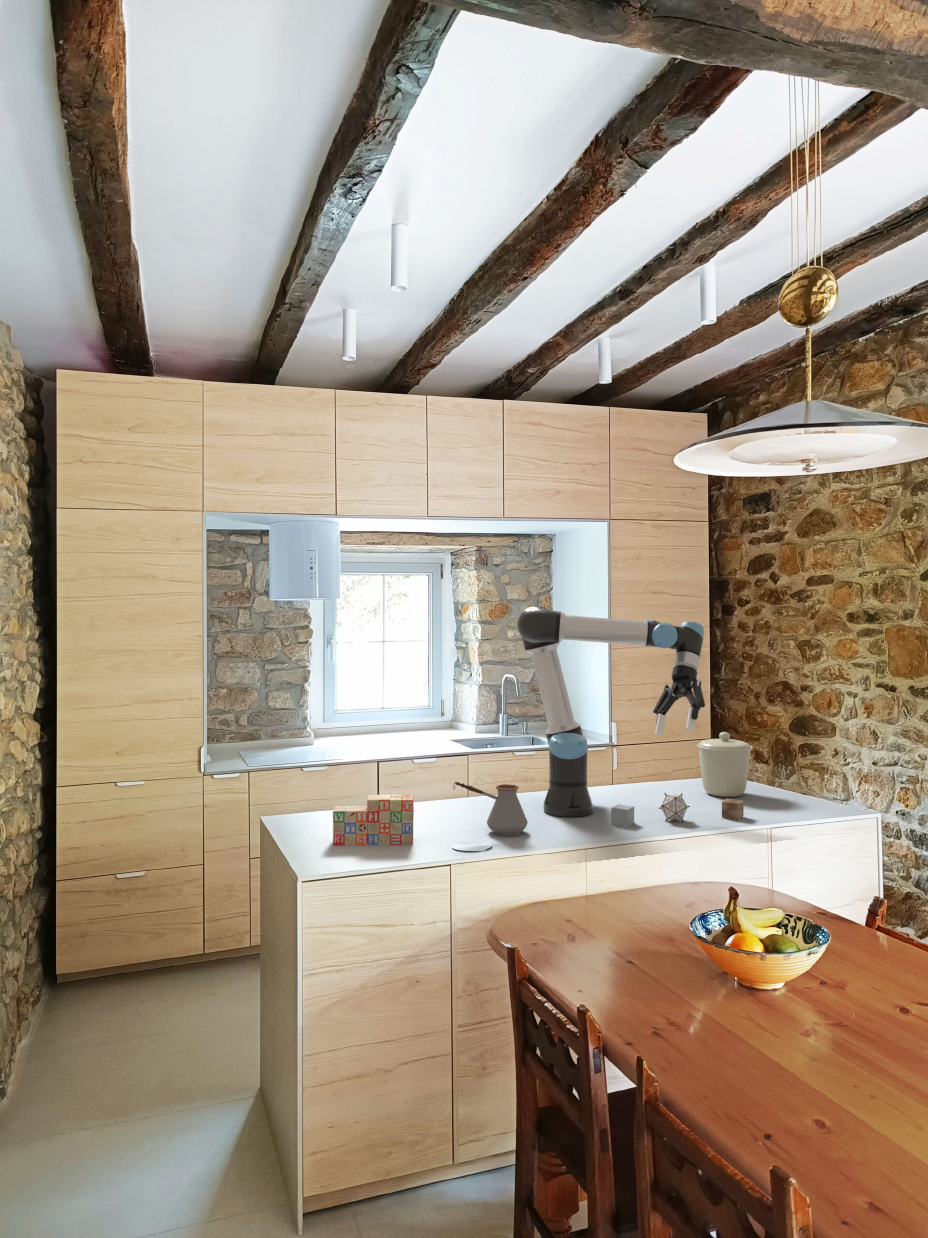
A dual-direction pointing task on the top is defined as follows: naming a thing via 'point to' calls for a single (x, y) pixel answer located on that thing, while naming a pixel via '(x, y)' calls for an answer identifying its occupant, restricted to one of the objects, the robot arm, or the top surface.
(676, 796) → the game die
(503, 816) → the coffee pot
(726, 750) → the canister
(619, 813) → the light grey cube
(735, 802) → the walnut block
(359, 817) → the stack of blocks
